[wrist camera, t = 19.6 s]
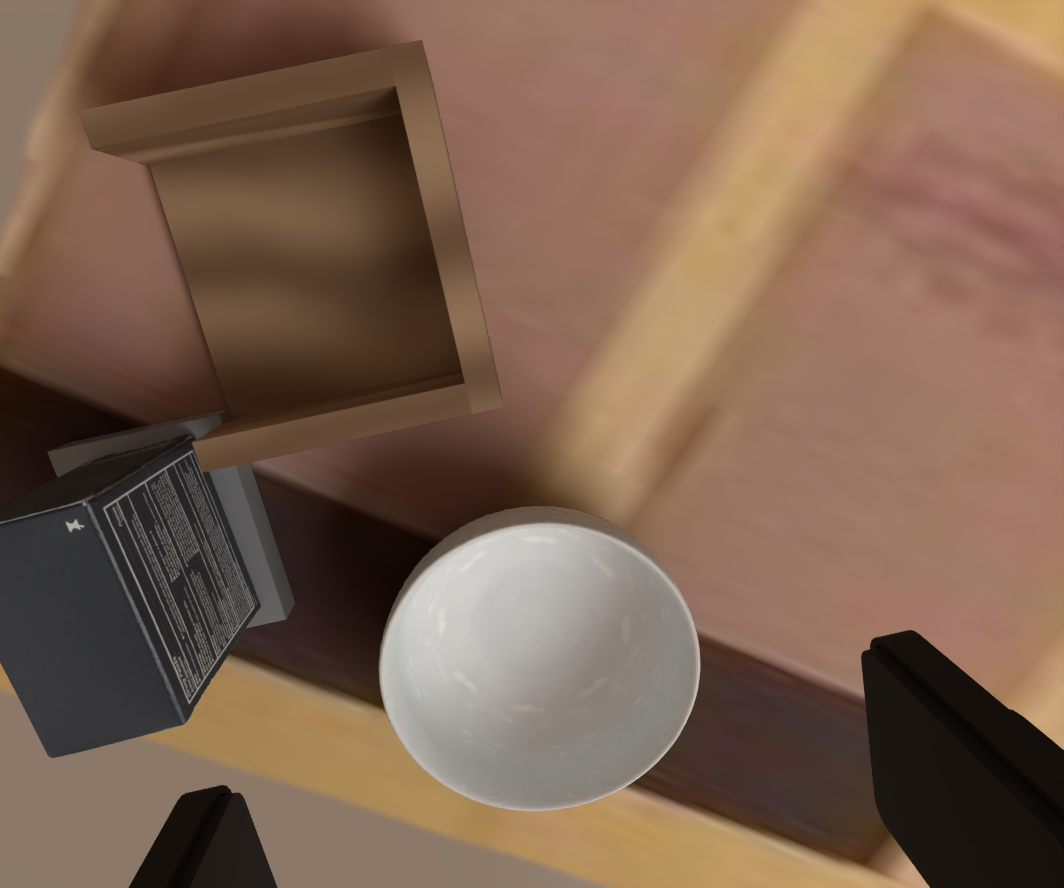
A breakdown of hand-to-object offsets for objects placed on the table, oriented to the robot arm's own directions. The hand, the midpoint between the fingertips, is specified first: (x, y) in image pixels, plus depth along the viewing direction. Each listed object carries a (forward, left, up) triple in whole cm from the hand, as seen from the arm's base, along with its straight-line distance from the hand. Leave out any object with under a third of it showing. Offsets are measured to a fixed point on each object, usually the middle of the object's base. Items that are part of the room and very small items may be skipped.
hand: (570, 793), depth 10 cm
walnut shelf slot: (-9, -8, -30) cm, 33 cm away
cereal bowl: (+13, -1, -31) cm, 33 cm away
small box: (+3, -19, -28) cm, 34 cm away
